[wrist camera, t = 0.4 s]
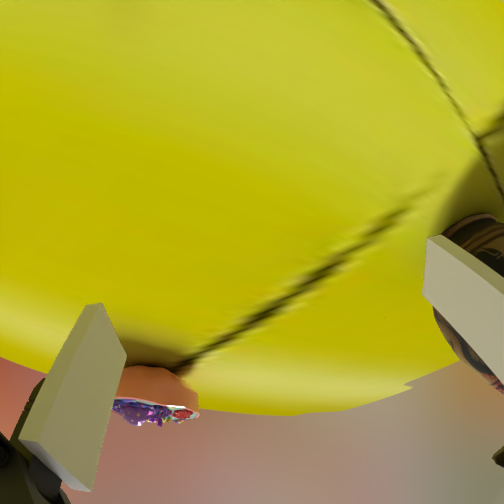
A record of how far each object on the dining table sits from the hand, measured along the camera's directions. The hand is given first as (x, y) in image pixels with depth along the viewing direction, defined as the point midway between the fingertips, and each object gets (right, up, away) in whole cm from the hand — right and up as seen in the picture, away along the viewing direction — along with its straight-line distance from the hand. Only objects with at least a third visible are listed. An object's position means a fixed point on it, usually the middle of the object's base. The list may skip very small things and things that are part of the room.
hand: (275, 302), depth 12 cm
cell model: (-19, -20, +43) cm, 51 cm away
